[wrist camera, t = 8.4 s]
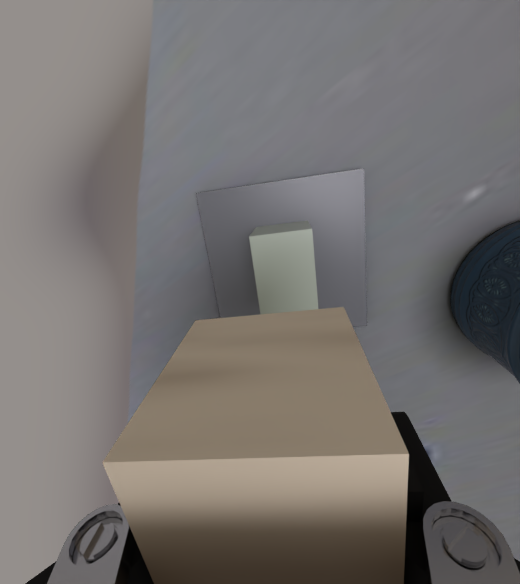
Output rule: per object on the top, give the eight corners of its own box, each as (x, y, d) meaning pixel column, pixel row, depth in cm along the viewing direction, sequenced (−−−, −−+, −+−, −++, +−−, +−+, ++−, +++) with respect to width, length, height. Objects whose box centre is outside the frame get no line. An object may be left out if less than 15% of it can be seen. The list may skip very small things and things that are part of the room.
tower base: (364, 320, 29) (382, 354, 24) (226, 332, 31) (212, 365, 25) (360, 169, 25) (382, 164, 19) (199, 192, 27) (175, 195, 21)
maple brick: (351, 479, 11) (398, 698, 6) (233, 482, 12) (197, 684, 7) (343, 306, 9) (409, 454, 4) (195, 320, 9) (102, 462, 5)
